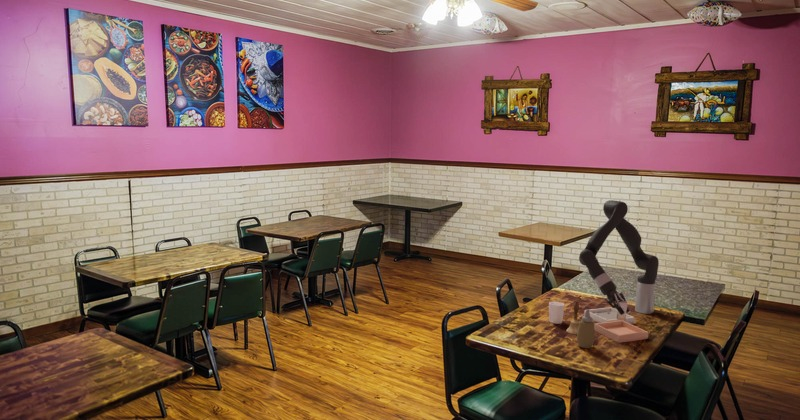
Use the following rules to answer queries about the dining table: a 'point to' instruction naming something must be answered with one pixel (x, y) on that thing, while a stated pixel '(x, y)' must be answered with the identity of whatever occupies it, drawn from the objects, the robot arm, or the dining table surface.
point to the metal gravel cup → (624, 307)
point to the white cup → (556, 312)
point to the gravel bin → (607, 315)
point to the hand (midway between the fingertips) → (625, 312)
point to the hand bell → (574, 321)
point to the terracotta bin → (620, 331)
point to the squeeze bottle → (586, 331)
